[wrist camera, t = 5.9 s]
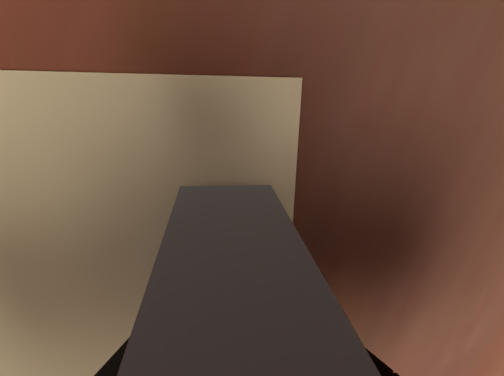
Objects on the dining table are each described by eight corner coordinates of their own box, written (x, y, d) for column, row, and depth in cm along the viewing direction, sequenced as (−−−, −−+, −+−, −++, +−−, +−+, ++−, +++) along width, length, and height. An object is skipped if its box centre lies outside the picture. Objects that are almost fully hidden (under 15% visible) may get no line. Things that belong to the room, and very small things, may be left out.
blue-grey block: (273, 185, 11) (523, 595, 2) (267, 328, 12) (384, 858, 4) (180, 186, 10) (11, 692, 2) (188, 334, 12) (126, 931, 4)
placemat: (298, 78, 11) (302, 77, 10) (280, 371, 15) (282, 381, 14) (-175, 66, 9) (-197, 65, 9) (-51, 400, 13) (-60, 412, 12)
